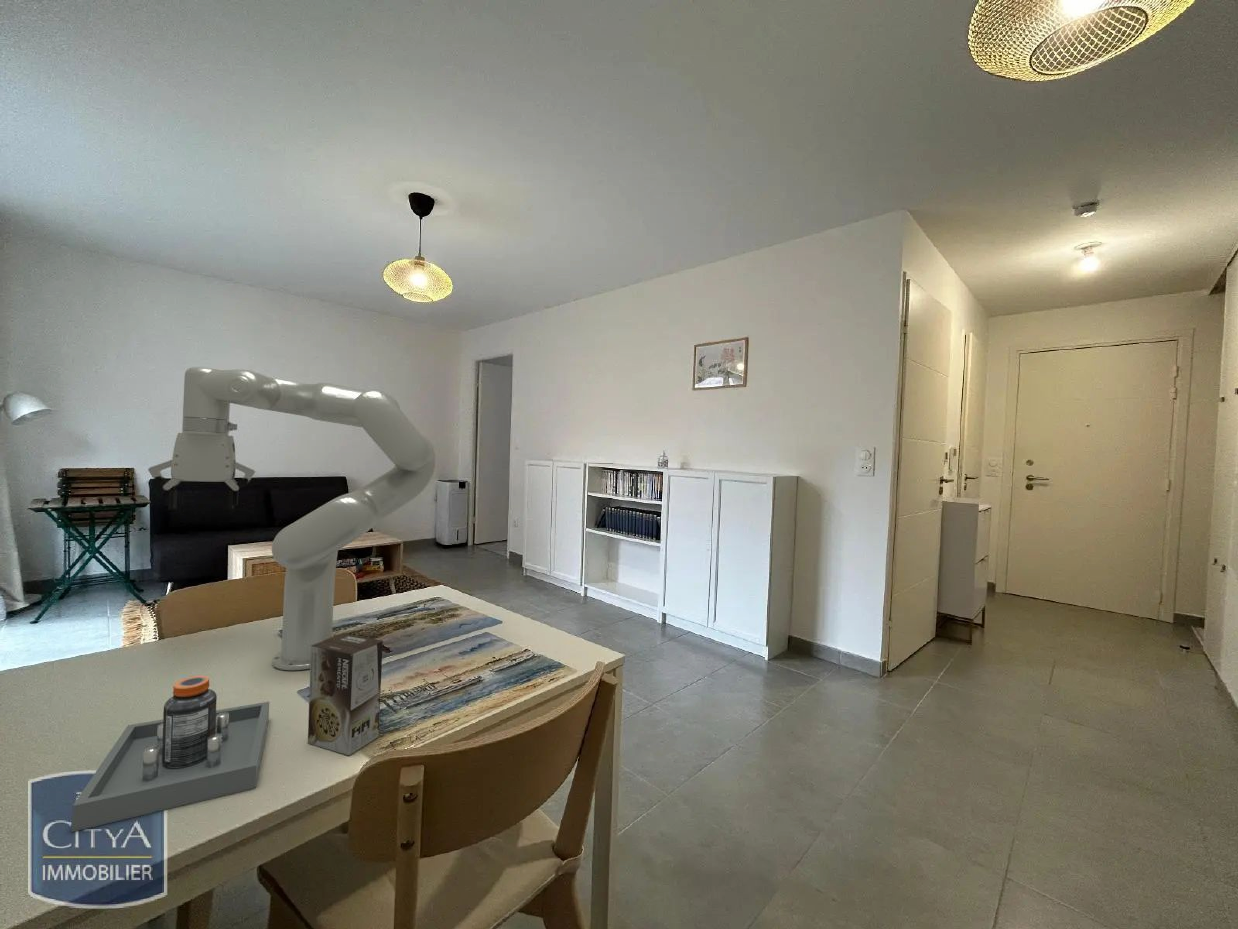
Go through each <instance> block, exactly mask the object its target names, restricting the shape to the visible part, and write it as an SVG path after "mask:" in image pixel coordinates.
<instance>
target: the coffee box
mask: <svg viewBox="0 0 1238 929" xmlns="http://www.w3.org/2000/svg"><path fill="white" fill-rule="evenodd" d="M383 644H384V641H383V640H381V639H377V638H376V639H375V638H371V637H364V636H360V635H356V634H355V635H354V634H349V633H338V634H336V635H334V637H331V638H328V639H326V640H324V641H322V642H319V643H317V644H314V645H311V659H310V669H309V689H308V690H309V692H308V693H309V694H308V696H309V698H308V726H307V727H308V728H307V733H308V734H307V744H309V745H313V746H316V747H319V748H323V749H325V750H326V749H327V750H328V751H333V752H336V753H339V754H343V755H345V756H351V755H353V754H354V753H356V752H357V751H358V750H360V749H362V748H363V747H365V746H366V745H368V744H370V743H371V742H373V741H374V740H376V739H377V738H379V732H380V716H381V715H380V710H381V690H382V687H381V686H382V668H383V665H382V664H383V649H384V648H383V647H384V646H383Z"/></svg>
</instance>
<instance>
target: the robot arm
mask: <svg viewBox="0 0 1238 929" xmlns="http://www.w3.org/2000/svg"><path fill="white" fill-rule="evenodd" d="M183 382H184V384H183V401H182V402H183V406H182V427H181V428H182V430H181V432H178V433H177V435H176V438H175V442H174V445H173V446H174V447H173V452H172V458H171V459H170V460H167V461H165V462H162V463H159V464H156V465H153V466H150V467H149V468H148V472H149V474H150V475H151V477H152V478H153V480H154V482H155V483H157V484H158V485H159V486H160V487H162V489H163V490H164V492H165V494H164V495H165V497H164V506H168V508H167V509H168V510H174V509H176V508H177V507H178V506H177V502H178V489H176V486H177V485H179V484H181V482H210V483H211V482H212V483H214V482H218V483H220V482H222V483H223V482H224V483H225V484H226V485H227V486H228V487H229V488H230V490H229V491H228V498H227V499H228V502H227V509H228V510H234V509H235V506H238V505H239V490H240V489H241V488H243V487H244V486H245V485H247V484H248V483H249V482H250V481H251V479H252V478H253V477H254V476H255V473H256V471H255V470H254V469H252V468H250V467H247V466H246V465H244V464H241V463H239V462H237V461H236V445H235V439H234V436H233V435H229V433H230V432H231V431H238V424H237V423H233V422H231V421H230V408H231V407H230V406H231V404H233V405H238V406H239V405H240V406H244V407H249V408H254V409H259V410H264V411H265V410H266V411H270V412H276V413H277V412H278V413H284V414H290V415H296V416H302V417H307V418H309V419H312V420H316V421H320V422H321V421H322V422H327V423H333V424H338V425H339V424H340V425H346V426H352V427H357V428H362V429H363V430H364V431H365V433H367V435H368V436H369V437H370V438H371V440H372V441H373V442H374V443H375V444H376V445H377V446H378V448H379V449H380V450H381V451H382V452H383V453H384V455H386V457H387V458H388V459H389V461H391V462H392V463H393V464H394V466H393V468H391V469H390V470H388V471H387V472H385V473H384V474H382V475H380V476H378V477H377V478H375V479H374V480H373V481H371V482H369V483H367V484H365V485H363V486H362V487H359V488H358V489H356V490H354V491H352V492H348V493H344V494H341V495H339V496H337V497H335V498H333V499H331V500H330V501H327V502H326V503H324V504H323V505H321V506H319V507H317V508H316V509H314V510H312V511H311V512H309V513H307V514H306V515H304V516H302V517H300V518H299V519H297V520H296V521H294V522H293V523H290V524H289V525H287V526H285V527H284V528H282V529H281V530H280V531H279V532H278V533H277V534H276V535H275V537H274V539H273V540H272V545H271V553H272V557H273V559H274V560H275V562H276V563H277V564H278V565H279V566H281V567H283V568H285V577H284V590H283V605H282V606H283V609H282V610H283V611H282V632H281V651H279V652H277V653H276V654H275V655H273V657H272V663H271V664H272V666H273V667H274V668H276V669H278V670H284V671H302V670H310V659H311V645H314V644H317V643H319V642H322V641H324V640H326V639H328V638H331V637H334V636H335V634H334V632H333V623H334V604H335V603H334V600H335V587H336V586H335V583H336V568H337V559H338V552H339V550H341V549H342V548H344V547H346V546H347V545H349V544H350V543H353V542H354V541H356V540H357V539H359V538H361V537H362V536H363V535H364V534H366V533H368V532H369V531H370V530H371V529H372V528H373V527H374V526H375V525H376V524H377V523H380V521H382V520H384V519H385V518H386V517H389V516H390V515H391V514H393V513H394V512H396V511H398V510H399V509H401V508H402V507H404V506H405V505H407V504H408V503H410V502H411V501H412V500H414V499H415V498H416V497H418V496H419V495H420V494H421V493H422V492H423V491H424V490H425V489H426V488H427V486H428V485H429V483H430V481H431V480H432V478H433V476H434V472H435V468H436V453H435V452H436V451H435V448H434V445H433V443H432V442H431V440H430V439H429V438H427V436H425V435H423V434H422V433H421V432H420V431H419V430H418V428H416V427H415V425H414V424H413V423H412V421H411V420H410V419H409V418H408V417H407V416H406V415H405V413H404V412H403V411H402V409H401V407H400V404H399V402H398V401H397V400H396V399H395V397H393V396H392V395H390V394H389V393H387V392H385V391H383V390H380V389H379V390H378V389H370V390H369V389H368V390H366V389H359V388H354V387H348V386H344V385H339V384H333V383H327V382H319V383H314V384H313V383H303V382H297V381H296V382H295V381H290V380H284V379H279V378H276V377H275V378H274V377H269V376H266V375H264V374H261V373H257V372H255V371H252V370H249V369H216V368H209V367H202V366H201V367H200V366H199V367H193V366H192V367H189V368H187V369H186V371H185V372H184V381H183ZM167 469H170V476H171V479H169V480H168V479H167V478H165V477H164V476H163V475H162V473H161V472H162V471H163V470H167ZM236 471H239V472H242V473H244V476H243V477H242V478H241V479H240V480H239V481H236V480H235V477H236Z"/></svg>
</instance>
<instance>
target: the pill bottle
mask: <svg viewBox="0 0 1238 929" xmlns="http://www.w3.org/2000/svg"><path fill="white" fill-rule="evenodd" d="M172 690H173V691H172V697H171V696H170V698H168V699H167V701H166V702H165V703H164V706H163V716H162V717H163V718H162V719H163V745H162V764H163V765H164V766H166V767H169V768H180V767H185V766H189V765H192V764H195V763H198V762H200V761H202V760H204V759H205V758H207V738H208V737H209V736H211V735H214V734H215V729H216V710H217V697H218V696H217V693H216V691H214V690H213V689H210V679H209V677H208V676H205V675H196V676H190V677H186V678H183V679H180V680H179V681H177V682H175V683H174V684H173V689H172Z"/></svg>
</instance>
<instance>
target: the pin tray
mask: <svg viewBox="0 0 1238 929" xmlns="http://www.w3.org/2000/svg"><path fill="white" fill-rule="evenodd" d="M269 717H270V701H265V702H264V701H263V702H258V703H251V704H246V705H240V706H235V707H234V706H233V707H229V708H223V709H216V729H215V734H214V735H211V736H209V737H208V738H207V758H205V759H204V760H202V761H200V762H198V763H195V764H192V765H189V766H185V767H180V768H169V767H166V766H164V765H163V764H162V745H163V718H162V719H157V720H151V721H147V722H140V723H133V724H128V725H127V726H126V727H125V729H124V730H123V732H122V733H121V735H120V736H119V737H118V739H117V740H116V742H115V744H114V745H113V746H112V748H111V749H110V751H109V752H108V754H107V755H106V756H105V757H104V759H103V761H102V763H101V764H100V765H99V767H97V770H96V771H95V773H94V774H93V775H92V776H91V779H89V781H88V783H87V785H86V786H85V787H84V788H83V790H82V791H81V793H80V795H79V796H78V797H77V799H76V800H75V801H74V803H73V805H72V808H71V810H72V811H71V814H72V815H71V833H74V832H77V831H82V830H87V829H90V828H95V827H98V826H103V825H108V824H111V823H115V822H120V821H124V820H128V819H132V818H136V817H141V816H145V815H149V814H153V813H157V812H161V811H166V810H170V809H174V808H179V807H183V806H186V805H191V804H195V803H199V802H204V801H207V800H212V799H217V798H220V797H225V796H228V795H234V794H236V793H242V792H245V791H251V790H254V789H256V787H257V782H258V776H259V771H260V767H261V766H260V765H261V762H262V755H263V752H264V747H265V746H264V745H265V741H266V735H267V730H268V726H269V719H270V718H269ZM182 805H183V806H182Z"/></svg>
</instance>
